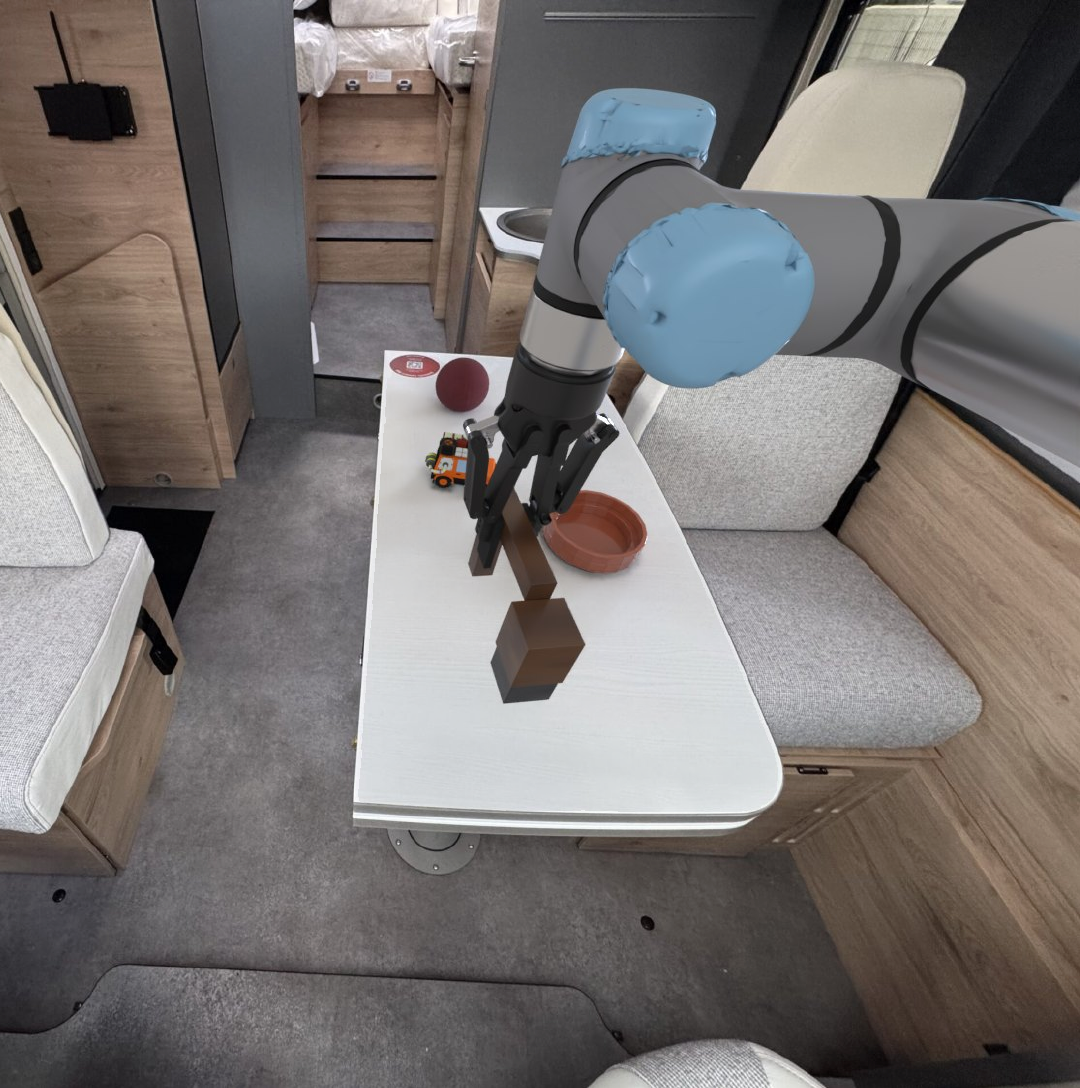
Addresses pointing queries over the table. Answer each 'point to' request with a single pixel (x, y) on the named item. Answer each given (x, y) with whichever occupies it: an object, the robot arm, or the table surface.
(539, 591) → the brown wooden mallet
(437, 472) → the toy car
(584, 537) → the bowl
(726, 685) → the table surface
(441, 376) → the decorative ball
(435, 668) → the table surface
